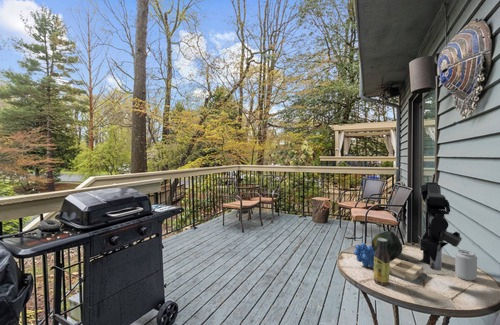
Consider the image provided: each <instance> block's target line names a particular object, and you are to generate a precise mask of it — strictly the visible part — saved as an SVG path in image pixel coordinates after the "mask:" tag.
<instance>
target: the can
mask: <svg viewBox="0 0 500 325" xmlns="http://www.w3.org/2000/svg"><path fill="white" fill-rule="evenodd" d="M454 258H455V262H454V263H455V265H454V267H455V268H454V274H455V275H456V276H457V277H458V278H459V279H461V280H464V281H470V282H472V280H474V281H475V280H477V278H478V276H477V274H478V257H477V256H476V253H475V252H473V251H470V250H466V249H458V250H457V251H456V252H455V257H454Z"/></svg>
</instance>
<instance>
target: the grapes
mask: <svg viewBox="0 0 500 325" xmlns="http://www.w3.org/2000/svg"><path fill="white" fill-rule="evenodd" d="M353 254H354V256H355V257H356V261H357V262H359V263H362V265H363V266H364V267H368V266H369V267H371V268H374V255H375V251H373V247H372V246H371V244H370V245H369V244H368V245H367V244H366V243H364V242H361V243H360V244H355V249H354V250H353Z"/></svg>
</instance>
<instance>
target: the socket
mask: <svg viewBox="0 0 500 325" xmlns="http://www.w3.org/2000/svg"><path fill="white" fill-rule="evenodd" d="M389 276H391V277H394V278H398V279H400V280H402V281H405V282H409V283H411V284H414V285H416V286H417V285H419V283H421V282H422V281H423V280H424V279H425V278H427V277H428V274H427V273H425V272H424V266H423V265H419V264H416V263H414V262H409V261H406V260H402V259H399V258H398V257H397V258H393V260H391V261H390V268H389Z"/></svg>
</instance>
